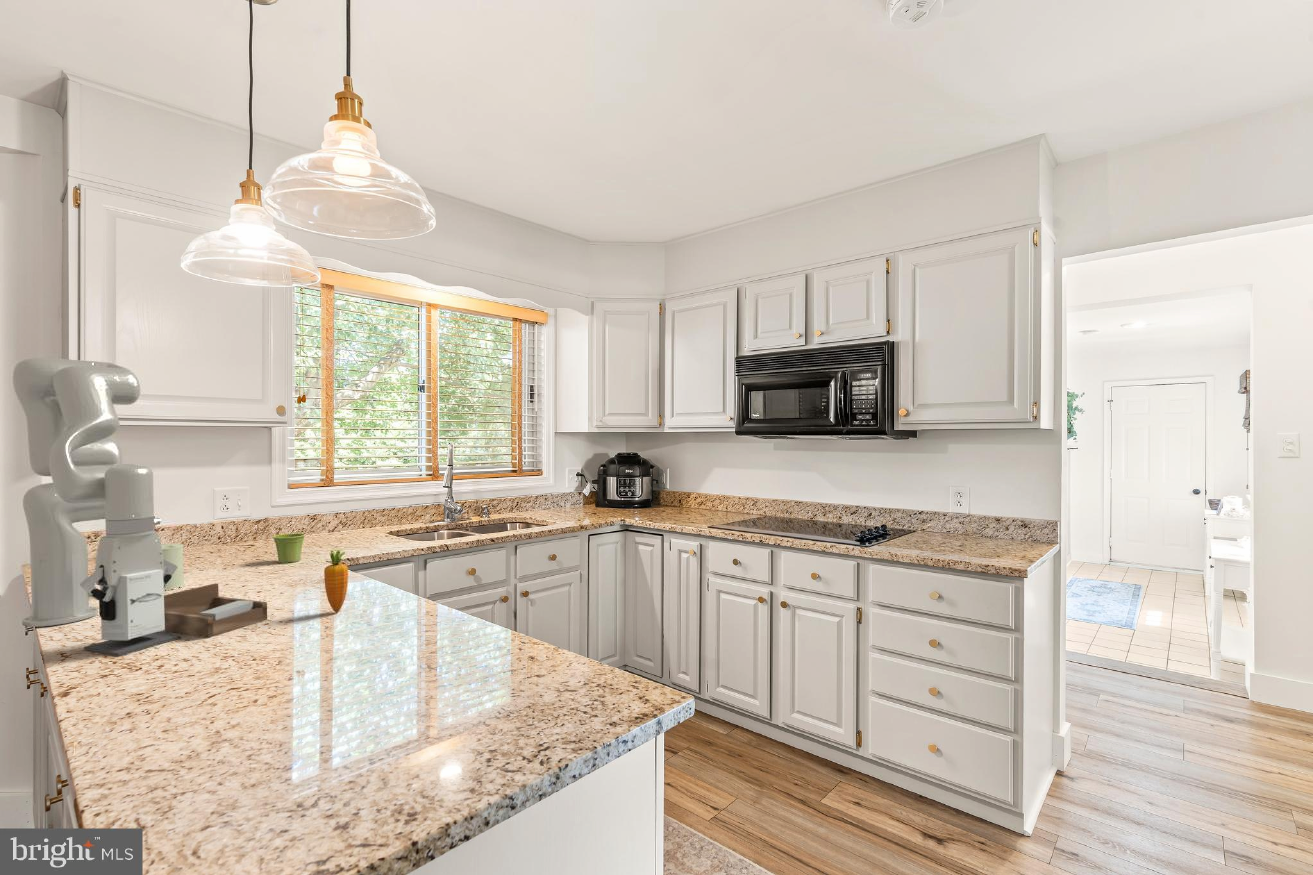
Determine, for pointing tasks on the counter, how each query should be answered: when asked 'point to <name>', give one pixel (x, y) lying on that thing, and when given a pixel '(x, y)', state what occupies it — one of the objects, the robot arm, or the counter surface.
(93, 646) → the rubber mat
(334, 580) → the carrot
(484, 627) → the counter surface
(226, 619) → the walnut rack
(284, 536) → the plant pot
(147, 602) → the supplement box
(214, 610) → the upper offcut
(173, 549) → the can
